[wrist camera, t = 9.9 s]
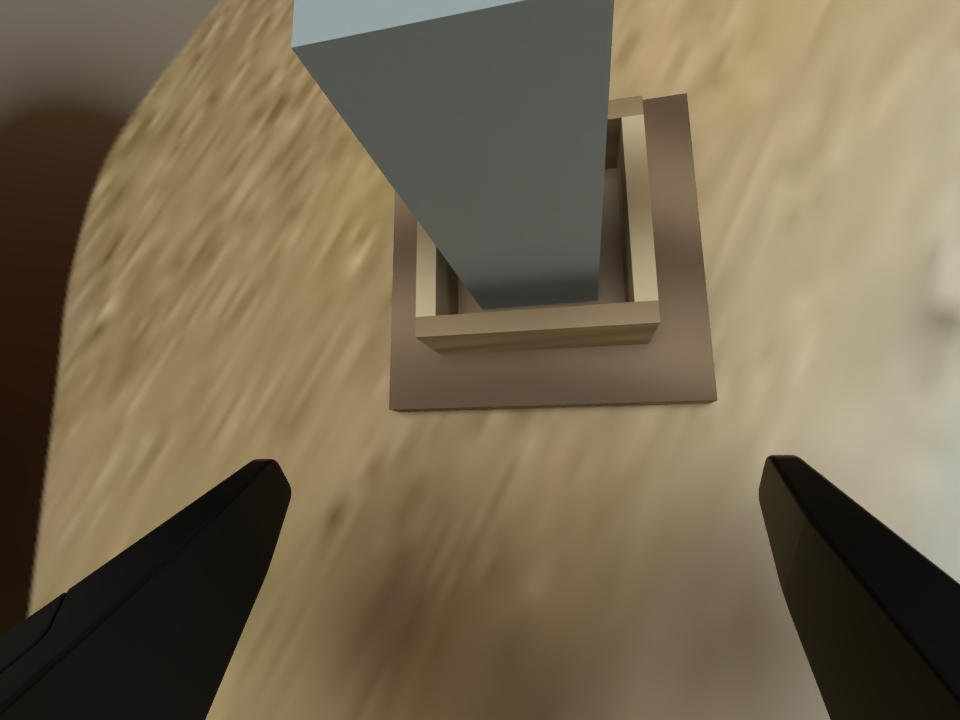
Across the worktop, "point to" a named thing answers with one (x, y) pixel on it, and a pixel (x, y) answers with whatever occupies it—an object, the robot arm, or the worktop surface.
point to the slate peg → (480, 128)
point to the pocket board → (572, 326)
